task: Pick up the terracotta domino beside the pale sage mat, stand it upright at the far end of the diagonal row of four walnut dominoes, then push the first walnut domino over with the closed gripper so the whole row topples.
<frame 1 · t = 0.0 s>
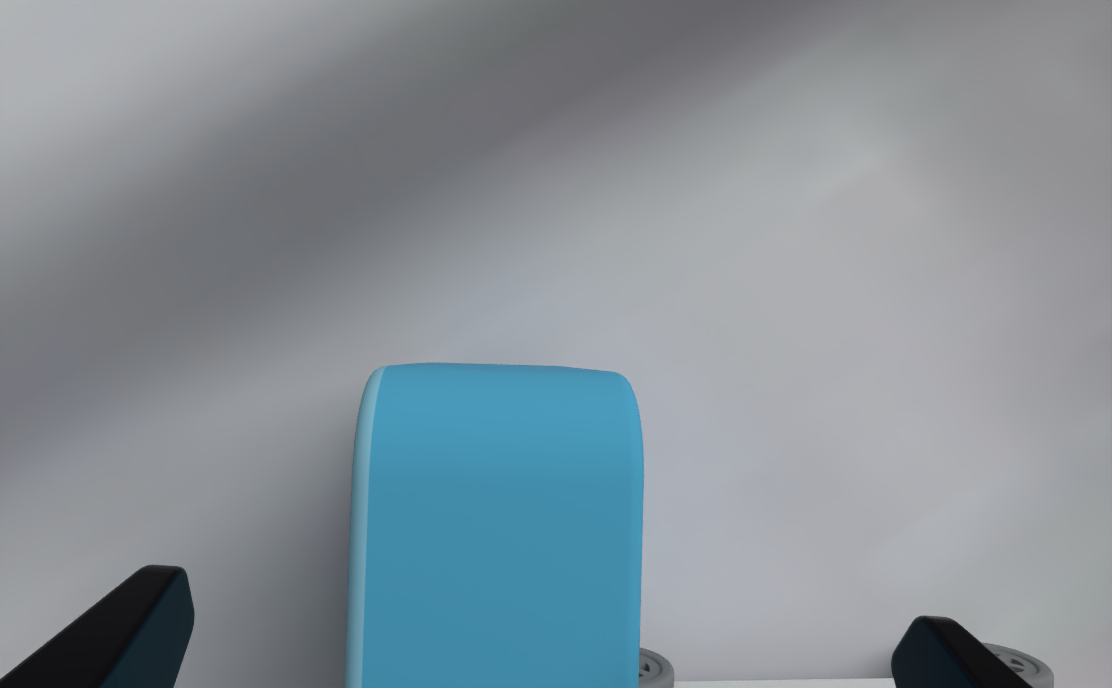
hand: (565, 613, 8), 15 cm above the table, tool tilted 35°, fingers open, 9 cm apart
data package: (487, 547, 22), point 1 cm above the table
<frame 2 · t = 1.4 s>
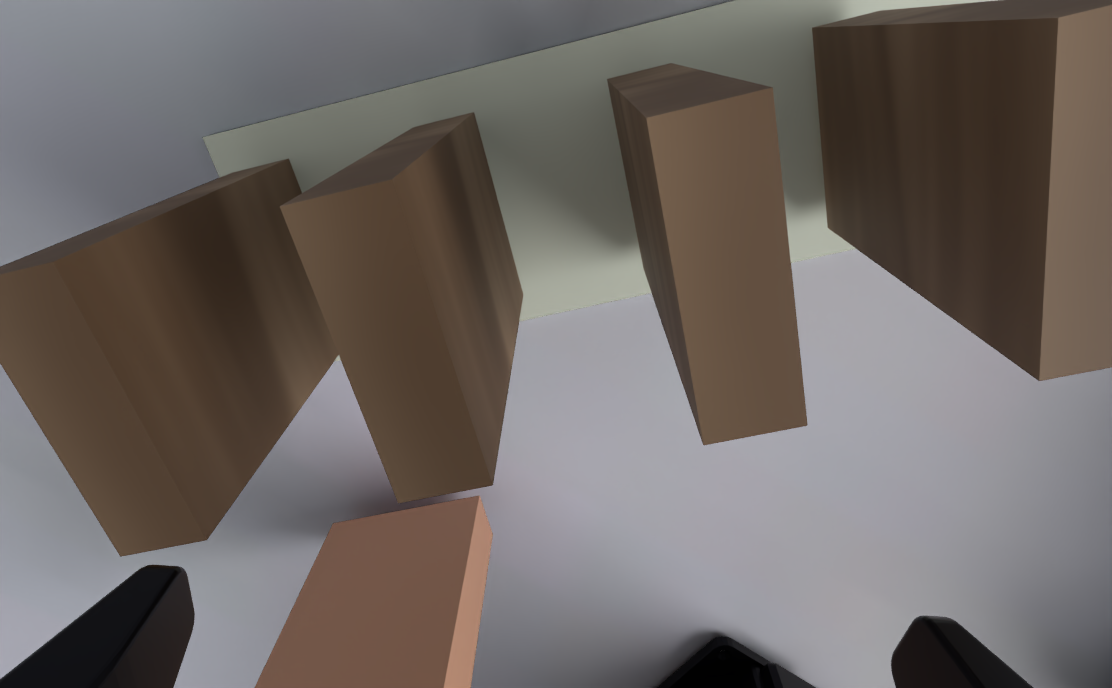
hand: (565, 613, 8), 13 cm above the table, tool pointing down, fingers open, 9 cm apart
walnut domino 4: (852, 125, 17), point 1 cm above the table
walnut domino 3: (656, 171, 18), point 1 cm above the table
domino mat: (652, 165, 19), on the table
walnut domino 2: (471, 214, 18), point 1 cm above the table
walnut domino 1: (296, 255, 19), point 1 cm above the table
terracotta domino: (413, 528, 23), point 1 cm above the table
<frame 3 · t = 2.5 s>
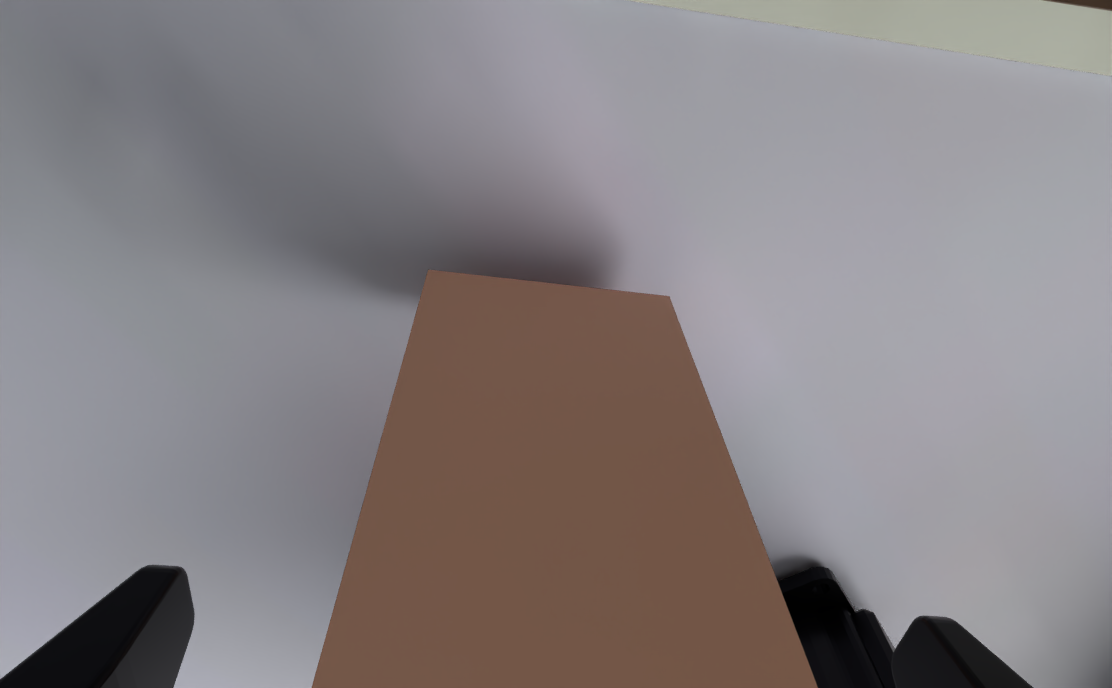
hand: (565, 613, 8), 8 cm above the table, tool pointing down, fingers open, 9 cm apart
terracotta domino: (545, 316, 15), point 1 cm above the table
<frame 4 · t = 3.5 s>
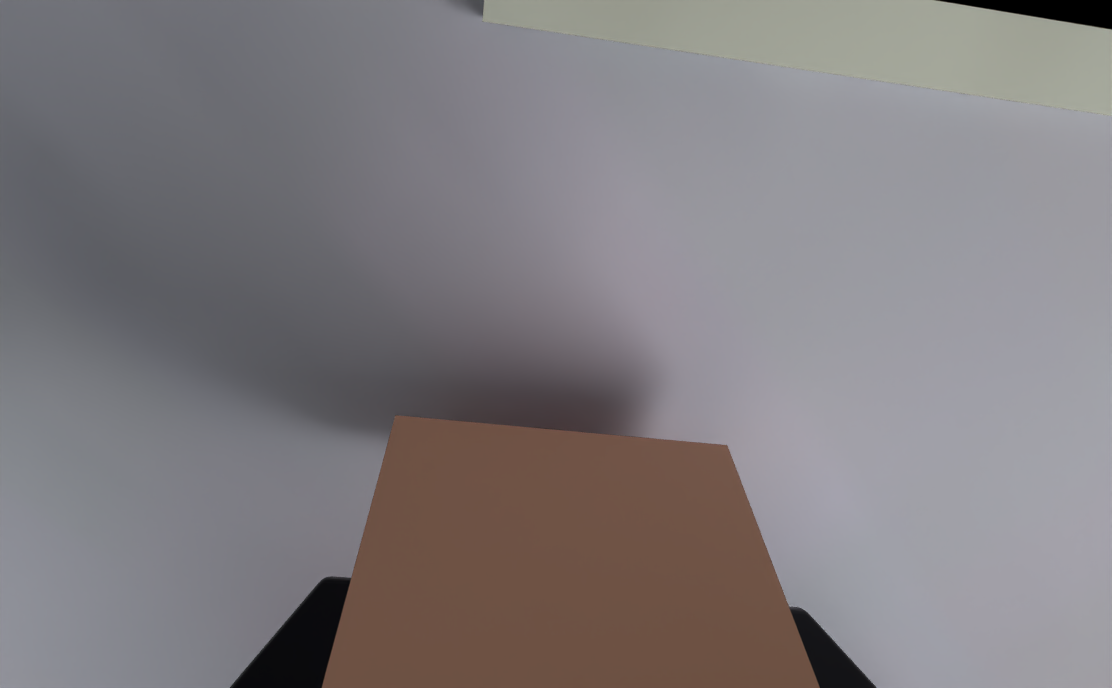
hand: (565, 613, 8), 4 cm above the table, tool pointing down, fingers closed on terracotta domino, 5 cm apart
terracotta domino: (557, 471, 11), point 1 cm above the table, touching gripper
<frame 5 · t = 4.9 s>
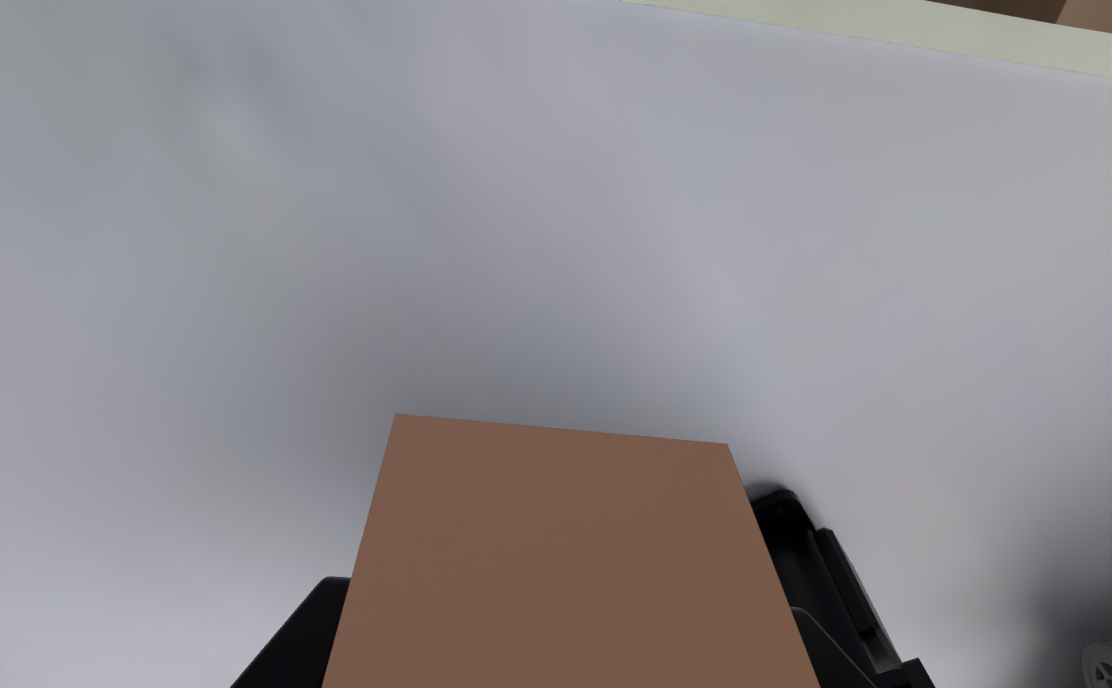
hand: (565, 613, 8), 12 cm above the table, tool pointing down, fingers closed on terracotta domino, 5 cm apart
terracotta domino: (557, 469, 11), point 9 cm above the table, touching gripper
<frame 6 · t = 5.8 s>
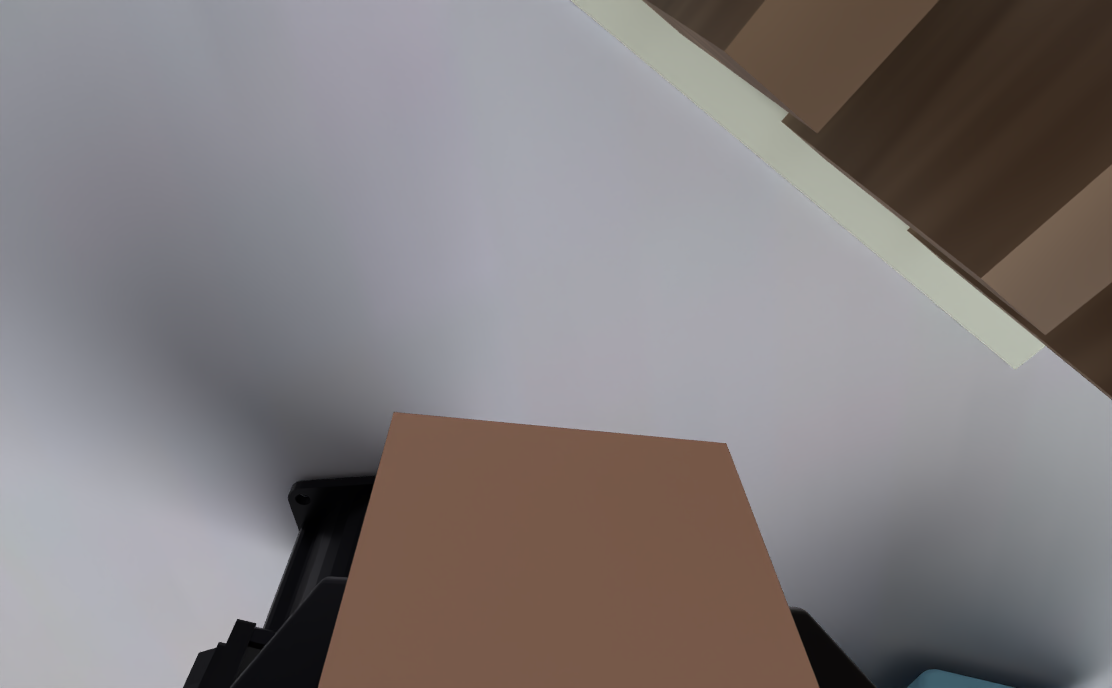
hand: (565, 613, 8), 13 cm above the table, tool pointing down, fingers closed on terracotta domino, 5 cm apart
walnut domino 4: (1001, 175, 18), point 1 cm above the table
walnut domino 3: (879, 55, 17), point 1 cm above the table
domino mat: (863, 49, 17), on the table
terracotta domino: (556, 468, 11), point 10 cm above the table, touching gripper
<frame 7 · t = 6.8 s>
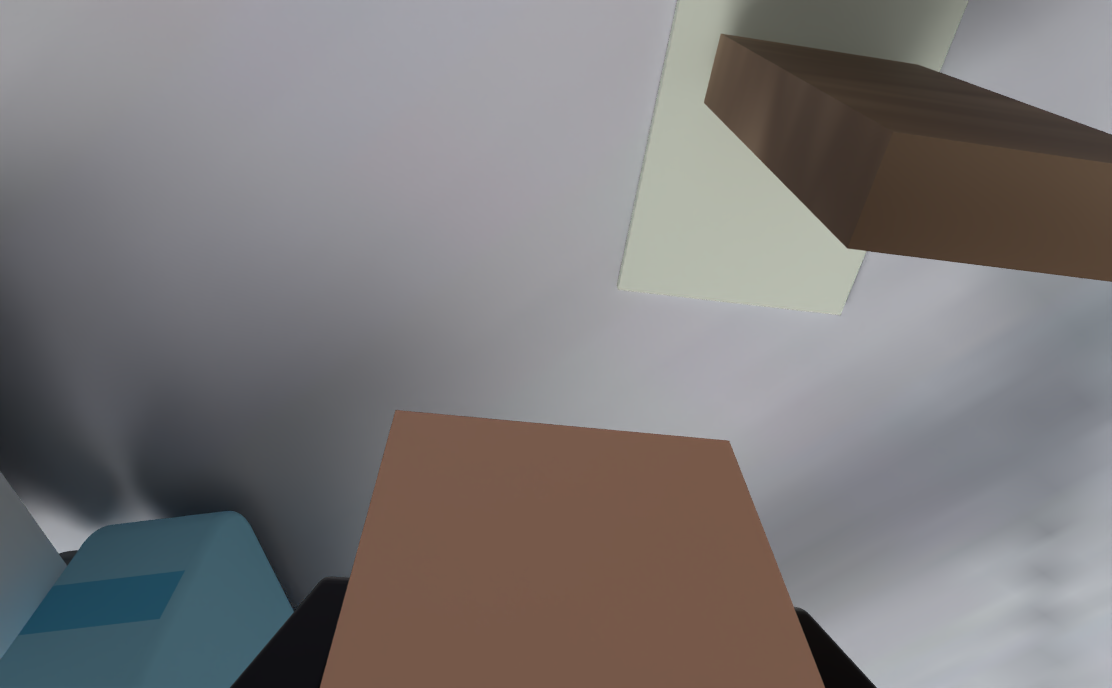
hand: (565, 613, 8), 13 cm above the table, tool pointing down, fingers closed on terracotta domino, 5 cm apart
walnut domino 4: (809, 83, 17), point 1 cm above the table
terracotta domino: (558, 466, 11), point 10 cm above the table, touching gripper
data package: (237, 605, 27), point 1 cm above the table
when the fingers open (5 cm above the table, at t = 9.9 s): terracotta domino moves 1 cm and tips over, resting on walnut domino 4.
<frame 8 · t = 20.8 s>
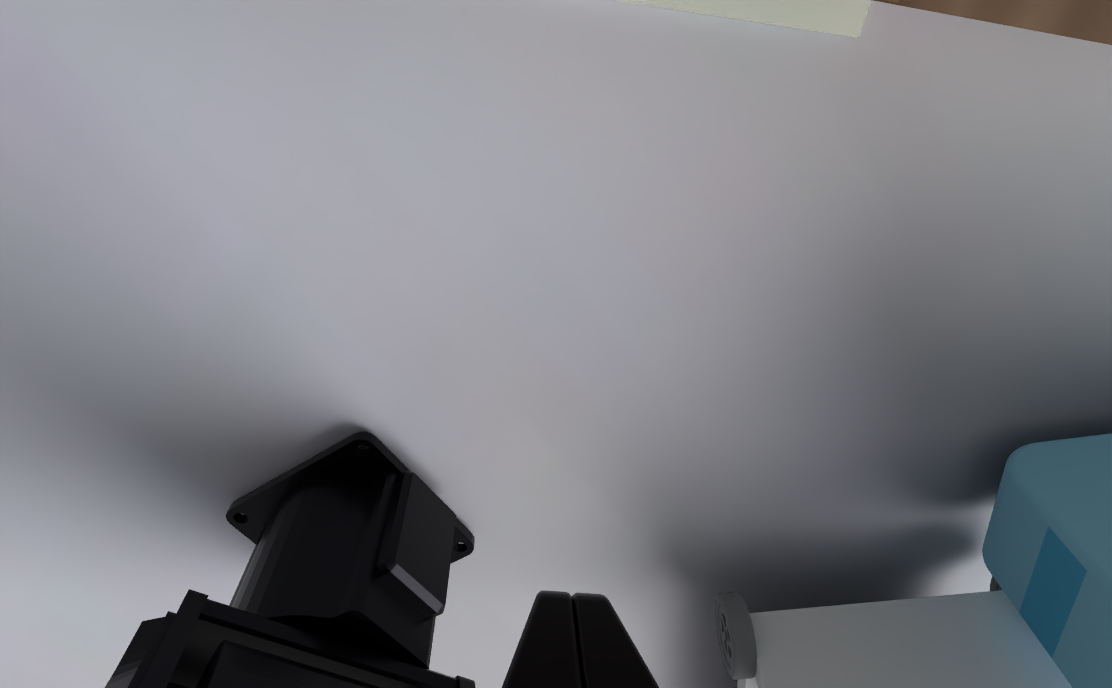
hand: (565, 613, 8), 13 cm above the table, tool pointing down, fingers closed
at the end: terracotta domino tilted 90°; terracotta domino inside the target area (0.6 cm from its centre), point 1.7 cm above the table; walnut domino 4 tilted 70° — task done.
